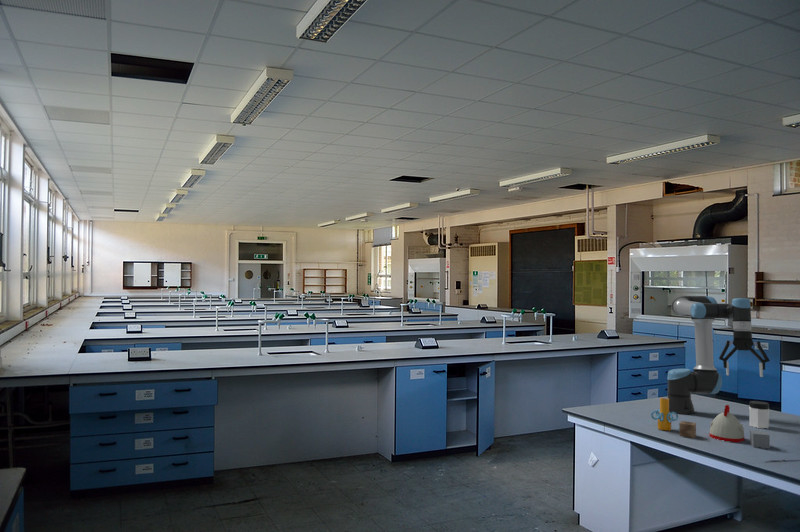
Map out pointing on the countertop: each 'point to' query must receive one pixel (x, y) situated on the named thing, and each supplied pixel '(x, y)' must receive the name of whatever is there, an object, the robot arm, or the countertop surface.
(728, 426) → the kitchen timer
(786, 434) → the countertop surface
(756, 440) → the slate block
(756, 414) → the jar
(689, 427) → the walnut block
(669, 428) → the yellow column with loops
